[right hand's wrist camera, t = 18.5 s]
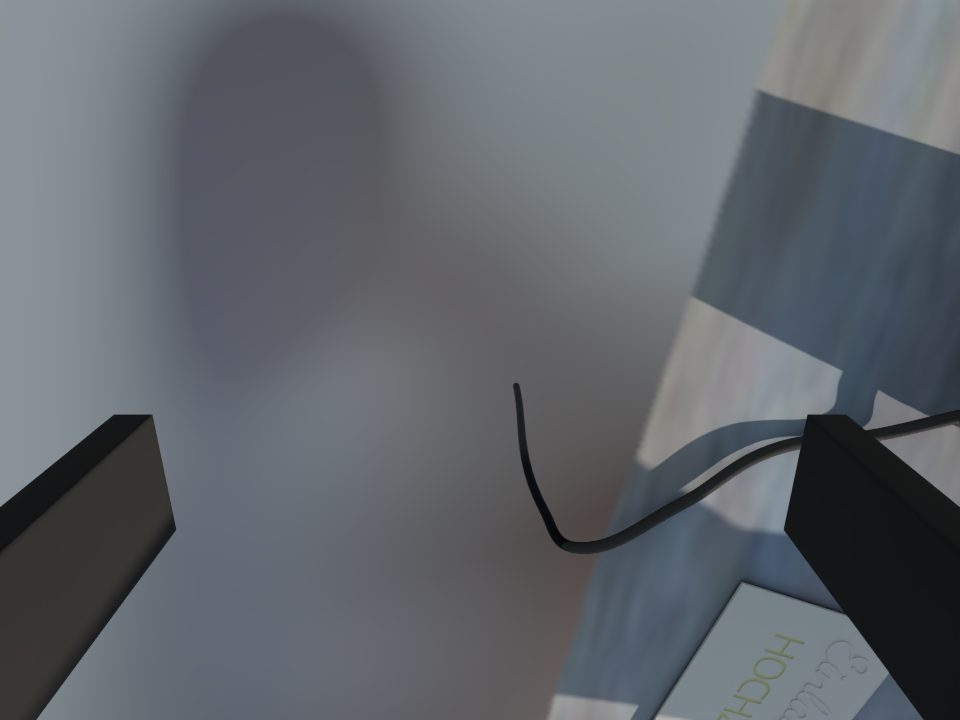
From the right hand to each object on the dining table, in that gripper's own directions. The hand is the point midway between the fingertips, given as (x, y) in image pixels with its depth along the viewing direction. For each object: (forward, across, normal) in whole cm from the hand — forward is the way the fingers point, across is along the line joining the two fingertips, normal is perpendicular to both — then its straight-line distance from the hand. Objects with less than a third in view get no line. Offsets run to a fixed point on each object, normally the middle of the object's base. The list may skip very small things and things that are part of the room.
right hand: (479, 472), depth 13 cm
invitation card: (+26, -23, +38) cm, 51 cm away
